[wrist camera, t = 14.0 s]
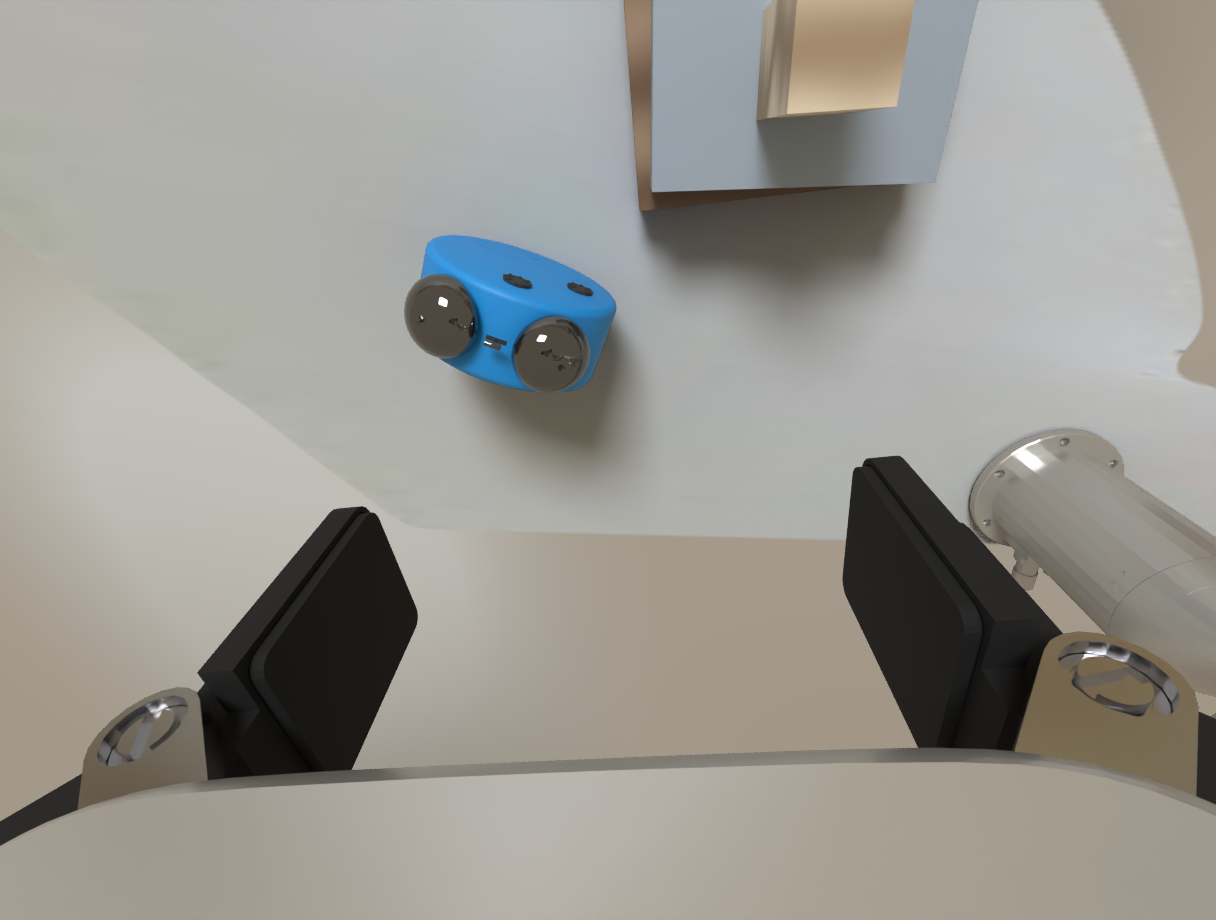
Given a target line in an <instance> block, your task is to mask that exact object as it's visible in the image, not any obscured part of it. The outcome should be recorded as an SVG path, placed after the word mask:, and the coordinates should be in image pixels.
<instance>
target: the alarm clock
mask: <svg viewBox="0 0 1216 920" xmlns="http://www.w3.org/2000/svg"><path fill="white" fill-rule="evenodd" d="M615 312H616V303H615V300H614V299H613V297H612V296H611V295H610V294H609V292H607V291H606V290H605V289H604V288H603V287H602V286H600V285H599V284H598V283H596V282H595V281H593V280H591V279H590V278H588V277H586V276H585V275H583V274H581V273H579V272H577V271H575V270H573V269H571V268H569V267H567V266H565V265H563V264H560V263H558V262H556V261H553V260H551V259H549V258H546V257H543V256H541V255H538V254H535V253H533V252H530V251H527V250H524V249H520V248H517V247H514V246H511V245H507V244H503V243H499V242H495V241H491V240H486V239H481V238H476V237H469V236H458V235H447V236H440V237H437V238H434V239H432V240H431V241H430V242H429V243H428V244H427V247H426V251H425V257H424V262H423V268H422V274H421V279H420V280H418V281H417V282H416V283H415V284H414V285H413V286H412V288H411V289H410V291H409V292H408V295H407V297H406V301H405V307H404V318H405V323H406V326H407V329H408V331H409V333H410V336H411V337H412V339H413V340H414V342H415V343H416V344H417V345H418V346H419V347H420V348H421V349H422V350H424V351H425V352H426V353H428V354H430V355H432V356H435V357H438V358H440V359H441V360H443V361H444V362H446V363H447V364H449V365H451V366H453V367H455V368H457V369H458V370H460V371H463V372H465V373H467V374H469V375H472V376H474V377H477V378H479V379H482V380H485V381H488V382H491V383H494V384H497V385H501V386H505V387H509V388H513V389H518V390H524V391H531V392H542V393H557V392H566V391H572V390H575V389H578V388H580V387H582V386H584V385H585V384H587V383H588V382H589V381H590V379H591V377H592V376H593V373H594V370H595V368H596V365H597V362H598V359H599V357H600V354H601V351H602V348H603V346H604V343H605V340H606V337H607V335H608V332H609V329H610V326H611V324H612V321H613V318H614V315H615Z"/></svg>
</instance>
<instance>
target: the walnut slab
mask: <svg viewBox="0 0 1216 920" xmlns="http://www.w3.org/2000/svg"><path fill="white" fill-rule="evenodd" d="M624 10H625V23H626V36H627V50H628V63H629V76H630V90H631V103H632V116H633V130H634V143H635V156H636V169H637V183H638V196H639V209H640V211H645V210H654V209H662V208H671V207H680V206H688V205H697V204H705V203H714V202H722V201H731V200H739V199H748V198H757V197H765V196H774V195H782V194H791V193H799V192H808V191H816V190H825V189H834V188H842V187H851V186H824V187H794V188H763V189H732V190H701V191H671V192H652V191H651V188H650V158H651V0H624ZM855 186H859V185H855Z"/></svg>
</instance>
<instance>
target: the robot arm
mask: <svg viewBox="0 0 1216 920" xmlns="http://www.w3.org/2000/svg"><path fill="white" fill-rule="evenodd" d="M970 512H971V516H972V518H973V520H974V523H975V524H976V525H977V527H978V528H979V529H980V530H981V531H982V532H983V533H984V534H985V535H986V536H987V537H988V538H989V539H991V540H993V541H995V542H997V543H999V544H1003V545H1006V546H1011V547H1012V548H1013V549H1014V550H1015V552H1014V558H1015V559H1016V560H1017V562H1016V565H1015V566H1014V568H1013V571H1012V575H1011V574H1010V573H1009V572H1008V571H1007V570H1006V569H1005V568H1004V566H1003V565H1002V564H1001V563H1000V562H999V561H998V560H997V559H996V557H995V556H994V555H993V554H992V553H991V552H990V551H989V550H988V548H987V547H986V546H985V545H984V544H983V543H982V542H981V541H980V539H979V538H978V537H977V536H976V535H975V534H974V533H973V532H972V530H971V529H970V528H968V527H967V526H966V525H965V524H964V523H960V522H958V520H957V519H956V518H955V517H954V516H953V515H952V514H951V512H950V511H949V510H948V509H947V508H946V507H945V506H944V504H943V503H942V502H941V501H940V500H939V499H938V498H937V496H936V495H935V494H934V493H933V492H932V491H931V490H930V488H929V487H928V486H927V485H926V484H925V483H924V482H923V480H922V479H921V478H920V477H919V476H918V475H917V474H916V472H915V471H914V470H913V469H912V468H911V467H910V466H909V464H908V463H907V462H906V461H905V460H904V459H903V458H902V457H901V456H889V457H878V458H868V459H866V460H865V461H864V463H863V466H862V467H856V468H855V469H854V471H853V477H852V487H851V497H850V507H849V517H848V528H847V538H846V548H845V558H844V568H843V586H844V591H845V595H846V597H847V599H848V601H849V603H850V606H851V608H852V610H853V612H854V614H855V616H856V618H857V620H858V622H859V624H860V627H861V629H862V630H863V633H864V635H865V637H866V639H867V641H868V643H869V645H870V648H871V649H872V652H873V654H874V656H875V658H876V660H877V662H878V664H879V666H880V668H881V671H882V673H883V675H884V677H885V679H886V681H887V683H888V685H889V687H890V689H891V692H892V693H893V695H894V698H895V700H896V702H897V704H898V706H899V708H900V710H901V712H902V714H903V717H904V719H905V721H906V723H907V725H908V727H909V729H910V731H911V733H912V735H913V738H914V739H915V742H916V744H917V746H918V748H898V749H897V748H894V749H893V748H891V749H845V750H807V751H780V752H755V753H728V754H703V755H676V756H652V757H651V756H650V757H627V758H604V759H580V760H556V761H534V762H513V763H490V764H467V765H446V766H426V767H406V768H387V769H366V770H352V767H353V765H354V763H355V761H356V759H357V757H358V754H359V752H360V750H361V748H362V745H363V743H364V741H365V739H366V737H367V734H368V732H369V730H370V728H371V725H372V723H373V721H374V719H375V717H376V714H377V712H378V710H379V707H380V706H381V703H382V701H383V699H384V697H385V694H386V692H387V690H388V688H389V686H390V683H391V681H392V679H393V677H394V675H395V672H396V670H397V668H398V666H399V663H400V661H401V659H402V657H403V655H404V652H405V650H406V648H407V646H408V644H409V641H410V639H411V637H412V635H413V632H414V630H415V628H416V625H417V619H418V614H417V609H416V606H415V604H414V601H413V599H412V597H411V594H410V592H409V589H408V587H407V585H406V582H405V580H404V578H403V575H402V573H401V570H400V568H399V566H398V563H397V561H396V558H395V556H394V554H393V551H392V549H391V547H390V544H389V542H388V539H387V537H386V535H385V532H384V530H383V527H382V525H381V522H380V520H379V518H378V516H377V515H376V514H375V513H370V512H369V510H367V508H365V507H362V506H361V507H350V508H340V509H334V510H333V511H331V512H330V513H329V514H328V516H327V517H326V518H325V519H324V521H323V522H322V523H321V524H320V525H319V527H318V528H317V529H316V530H315V531H314V533H313V534H312V535H311V536H310V537H309V539H308V540H307V541H306V542H305V544H304V545H303V546H302V547H301V548H300V550H299V551H298V552H297V553H296V554H295V555H294V557H293V558H292V559H291V560H290V562H289V563H288V564H287V565H286V567H285V568H284V569H283V570H282V571H281V572H280V574H279V575H278V576H277V577H276V578H275V580H274V581H273V582H272V583H271V584H270V586H269V587H268V588H267V589H266V590H265V592H264V593H263V594H262V595H261V596H260V598H259V599H258V600H257V601H256V602H255V604H254V605H253V606H252V607H251V609H250V610H249V611H248V612H247V613H246V615H245V616H244V617H243V618H242V619H241V621H240V622H239V623H238V624H237V625H236V627H235V628H234V629H233V630H232V632H231V633H230V634H229V635H228V636H227V638H226V639H225V640H224V641H223V642H222V644H221V645H220V646H219V647H218V648H217V650H216V651H215V652H214V653H213V654H212V656H211V657H210V658H209V659H208V660H207V662H206V663H205V664H204V665H203V667H202V668H201V669H200V670H199V671H198V674H199V676H200V677H201V678H202V680H203V681H204V682H205V684H204V685H203V686H202V688H201V689H200V690H199V691H198V693H197V692H196V691H194V690H192V689H190V688H177V687H176V688H172V689H167V690H163V691H160V692H158V693H155V694H153V695H151V696H148V697H146V698H144V699H142V700H141V701H139V702H137V703H135V704H134V705H132V706H130V707H129V708H127V709H126V710H124V711H123V712H122V713H121V714H119V715H118V716H117V717H115V718H114V719H113V720H111V721H110V723H109V724H108V725H107V726H106V727H105V728H104V729H103V730H102V731H101V732H100V733H99V734H98V735H97V736H96V738H95V739H94V741H93V742H92V743H91V745H90V746H89V748H88V750H87V753H86V756H85V758H84V762H83V770H82V774H81V775H79V776H77V777H75V778H74V779H72V780H71V781H69V782H67V783H65V784H64V785H62V786H60V787H58V788H57V789H55V790H53V791H52V792H50V793H48V794H46V795H45V796H43V797H42V798H40V799H38V800H36V801H35V802H33V803H31V804H29V805H28V806H26V807H24V808H23V809H21V810H19V811H17V812H16V813H14V814H12V815H11V816H9V817H7V818H5V819H4V820H2V821H0V920H1216V713H1215V714H1214V715H1212V716H1208V715H1205V714H1203V713H1201V712H1199V707H1198V703H1197V699H1196V695H1195V692H1199V693H1202V694H1206V695H1210V696H1214V697H1216V537H1215V536H1213V535H1212V534H1210V533H1209V532H1207V531H1206V530H1204V529H1203V528H1201V527H1200V526H1198V525H1197V524H1195V523H1194V522H1192V521H1191V520H1189V519H1188V518H1186V517H1185V516H1183V515H1182V514H1180V513H1179V512H1177V511H1176V510H1174V509H1173V508H1171V507H1170V506H1168V505H1167V504H1165V503H1164V502H1162V501H1161V500H1159V499H1158V498H1156V497H1155V496H1153V495H1152V494H1150V493H1149V492H1147V491H1146V490H1144V489H1143V488H1141V487H1140V486H1138V485H1137V484H1135V483H1134V482H1132V481H1131V480H1129V479H1128V478H1126V477H1125V476H1124V464H1123V460H1122V457H1121V455H1120V454H1119V452H1118V451H1117V449H1116V448H1115V447H1114V446H1113V445H1112V444H1110V443H1109V442H1108V441H1106V440H1105V439H1103V438H1101V437H1099V436H1098V435H1096V434H1093V433H1090V432H1087V431H1084V430H1075V429H1061V430H1053V431H1048V432H1043V433H1039V434H1037V435H1034V436H1031V437H1028V438H1026V439H1024V440H1022V441H1020V442H1018V443H1016V444H1014V445H1012V446H1011V447H1009V448H1008V449H1006V450H1005V451H1003V452H1002V453H1000V454H999V455H998V456H997V457H996V458H995V459H994V460H992V461H991V462H990V463H989V464H988V466H987V467H986V468H985V469H984V470H983V472H982V473H981V474H980V476H979V477H978V479H977V481H976V483H975V484H974V487H973V490H972V493H971V497H970ZM1039 567H1041V568H1042V569H1043V571H1044V573H1046V574H1047V575H1049V576H1050V577H1051V578H1052V579H1053V580H1054V581H1055V582H1056V583H1057V584H1058V585H1059V586H1060V587H1061V588H1062V590H1064V592H1065V593H1066V594H1067V595H1068V596H1069V597H1070V598H1071V599H1072V600H1073V601H1074V602H1075V603H1076V604H1077V605H1078V606H1079V607H1080V608H1081V609H1082V610H1083V611H1084V612H1085V613H1086V614H1087V615H1088V616H1089V617H1090V618H1091V619H1092V620H1093V621H1094V622H1095V623H1096V624H1097V625H1098V626H1099V627H1100V629H1102V631H1103V632H1104V633H1105V634H1106V635H1104V634H1100V633H1090V632H1073V633H1065V634H1063V633H1062V632H1061V631H1060V630H1059V629H1058V627H1057V626H1056V625H1055V624H1054V623H1053V622H1052V621H1051V619H1050V618H1049V617H1048V616H1047V615H1046V614H1045V613H1044V612H1043V610H1042V609H1041V608H1040V607H1039V606H1038V605H1037V604H1036V603H1035V601H1034V600H1033V599H1032V598H1031V597H1030V596H1029V595H1028V594H1027V592H1025V590H1031V589H1033V587H1034V584H1035V581H1036V578H1037V575H1038V568H1039ZM1194 691H1195V692H1194Z"/></svg>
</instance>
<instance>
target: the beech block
mask: <svg viewBox="0 0 1216 920" xmlns="http://www.w3.org/2000/svg"><path fill="white" fill-rule="evenodd" d="M914 3H915V0H773V1H772V2H771V3H770V4H769V5H768V6H767V7H766V8H765V9H764V10H763V24H762V39H761V54H760V70H759V85H758V101H757V116H756V120H771V119H785V118H800V117H814V116H829V115H843V114H850V113H857V112H864V111H870V110H877V109H884V108H890V107H897V102H898V96H899V90H900V84H901V79H902V73H903V67H904V61H905V55H906V49H907V44H908V38H909V32H910V26H911V20H912V14H913V9H914Z"/></svg>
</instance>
